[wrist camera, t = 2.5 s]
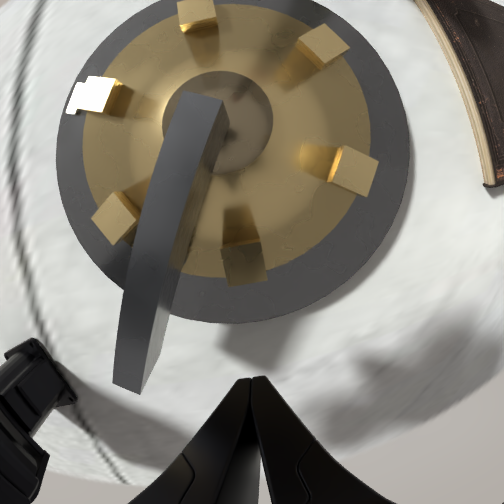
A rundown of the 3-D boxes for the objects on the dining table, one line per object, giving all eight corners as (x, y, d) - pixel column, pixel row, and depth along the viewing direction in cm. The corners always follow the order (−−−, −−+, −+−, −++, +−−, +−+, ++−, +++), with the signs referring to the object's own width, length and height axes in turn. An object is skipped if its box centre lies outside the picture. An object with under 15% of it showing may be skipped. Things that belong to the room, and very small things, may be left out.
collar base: (159, 353, 16) (151, 369, 15) (41, 98, 12) (26, 93, 11) (435, 226, 15) (452, 231, 13) (299, -30, 11) (303, -45, 9)
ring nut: (158, 337, 14) (125, 398, 9) (53, 110, 11) (-9, 94, 6) (406, 224, 13) (471, 245, 8) (283, -9, 10) (294, -70, 5)
